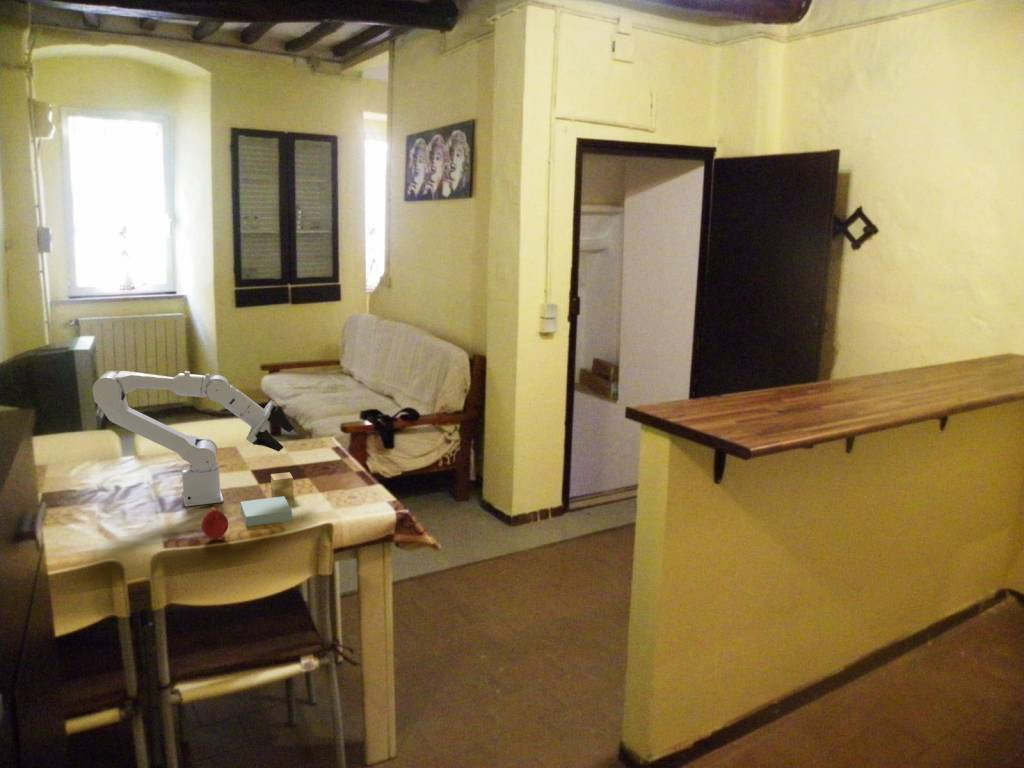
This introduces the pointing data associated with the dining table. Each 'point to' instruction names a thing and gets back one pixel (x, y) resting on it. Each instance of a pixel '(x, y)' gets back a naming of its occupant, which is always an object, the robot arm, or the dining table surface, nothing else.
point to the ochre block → (282, 485)
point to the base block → (266, 511)
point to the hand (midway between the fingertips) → (286, 439)
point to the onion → (214, 524)
